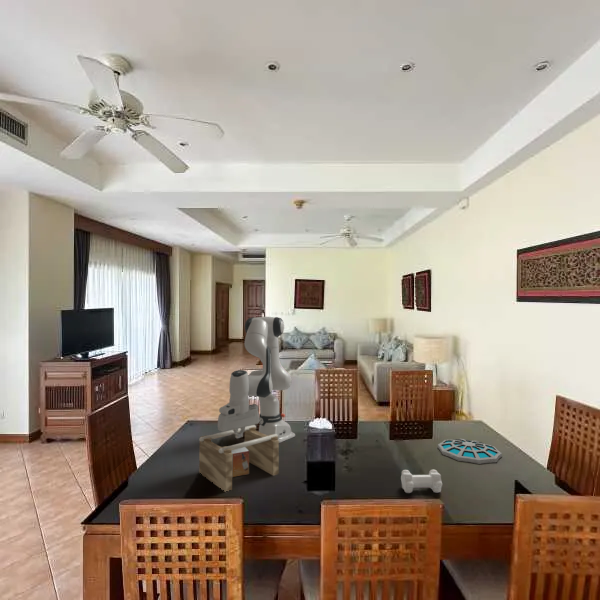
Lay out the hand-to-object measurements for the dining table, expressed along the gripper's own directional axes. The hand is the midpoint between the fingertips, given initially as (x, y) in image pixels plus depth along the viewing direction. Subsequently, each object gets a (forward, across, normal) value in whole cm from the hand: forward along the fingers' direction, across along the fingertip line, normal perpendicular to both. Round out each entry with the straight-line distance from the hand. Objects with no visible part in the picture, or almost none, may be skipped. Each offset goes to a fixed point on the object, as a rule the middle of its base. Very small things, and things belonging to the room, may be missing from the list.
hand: (239, 437), depth 174 cm
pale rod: (+1, 0, -9) cm, 9 cm away
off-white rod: (+1, 0, +9) cm, 9 cm away
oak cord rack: (+16, 0, 0) cm, 16 cm away
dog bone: (+16, -49, +62) cm, 81 cm away
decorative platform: (+17, -105, +55) cm, 120 cm away
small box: (+16, 0, 0) cm, 16 cm away
